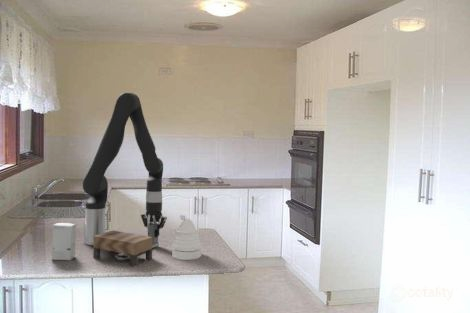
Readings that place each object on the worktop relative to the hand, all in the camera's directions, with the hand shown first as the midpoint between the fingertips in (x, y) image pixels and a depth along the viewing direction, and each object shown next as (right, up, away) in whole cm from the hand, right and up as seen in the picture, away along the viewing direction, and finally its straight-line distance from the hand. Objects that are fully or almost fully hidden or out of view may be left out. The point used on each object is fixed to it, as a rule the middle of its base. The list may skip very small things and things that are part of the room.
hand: (153, 236), depth 220 cm
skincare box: (-34, -6, -21) cm, 41 cm away
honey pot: (+17, -7, -13) cm, 22 cm away
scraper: (-4, -5, -7) cm, 10 cm away
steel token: (-10, -6, -19) cm, 23 cm away
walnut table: (-10, -6, -19) cm, 22 cm away
